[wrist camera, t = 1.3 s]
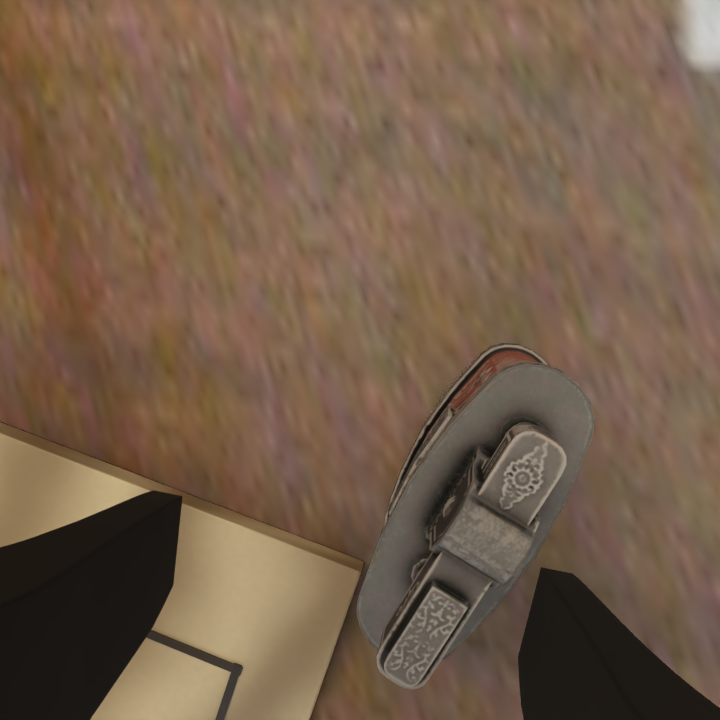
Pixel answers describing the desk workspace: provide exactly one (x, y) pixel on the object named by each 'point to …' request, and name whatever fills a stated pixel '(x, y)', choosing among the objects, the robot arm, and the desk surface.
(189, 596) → the grid board
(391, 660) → the lighter
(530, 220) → the desk surface
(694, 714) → the robot arm
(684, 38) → the desk surface
